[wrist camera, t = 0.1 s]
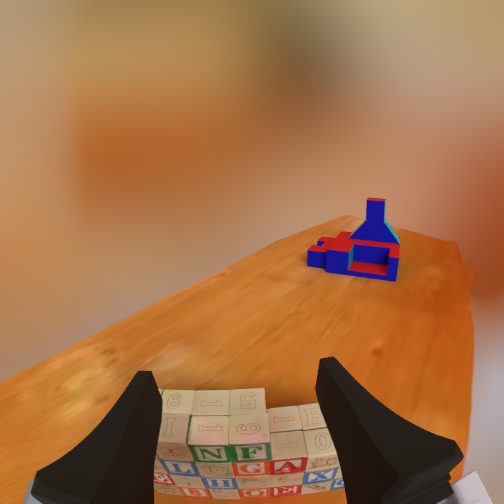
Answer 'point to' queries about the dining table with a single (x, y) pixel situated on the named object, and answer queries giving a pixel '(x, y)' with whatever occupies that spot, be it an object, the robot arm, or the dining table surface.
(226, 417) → the stack of blocks
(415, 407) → the dining table surface
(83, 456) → the robot arm
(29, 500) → the stand
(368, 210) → the building blocks toy
